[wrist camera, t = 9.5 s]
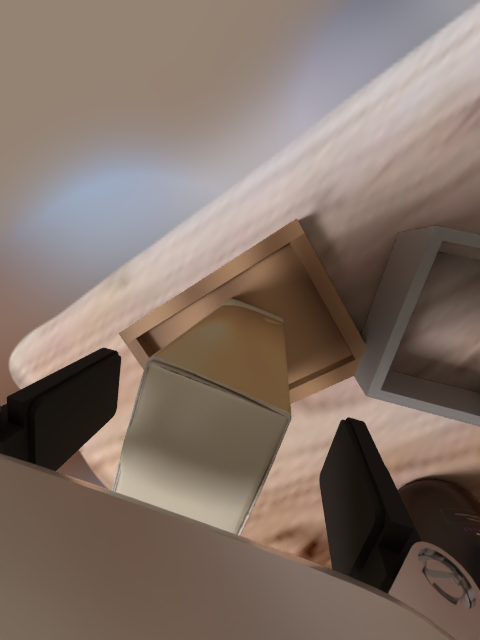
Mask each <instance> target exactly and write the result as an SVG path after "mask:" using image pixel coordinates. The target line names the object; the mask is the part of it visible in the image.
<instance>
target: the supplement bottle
mask: <svg viewBox="0 0 480 640" xmlns="http://www.w3.org/2000/svg"><path fill="white" fill-rule="evenodd" d="M398 492H399V495H400V497H401V499H402V501H403V503H404V505H405V507H406V509H407V511H408V514H409V516H410V518H411V520H412V522H413V524H414V526H415V528H416V530H417V533H418V535H419V537H420V539H421V541H423V542H427V543H431V544H433V545H435V546H437V547H439V548H441V549H442V550H443V551H445V552H446V553H448V554H449V555H450V556H452V557H453V558H454V559H455V560H456V561H457V562H458V563H459V564H460V565H461V566H462V567H463V568H464V569H465V570H466V571H467V573H468V574H469V575H470V576H471V577H472V579H473V581H474V582H475V584H476V585H477V587H478V588H479V590H480V502H479V501H478V500H477V499H476V498H475V497H474V496H473V495H472V494H471V493H470V492H468V491H467V490H465V489H464V488H462V487H460V486H458V485H456V484H453V483H450V482H447V481H442V480H421V481H416V482H413V483H410V484H408V485H406V486H404V487H403V488H401V489H400V490H399V491H398Z"/></svg>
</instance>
